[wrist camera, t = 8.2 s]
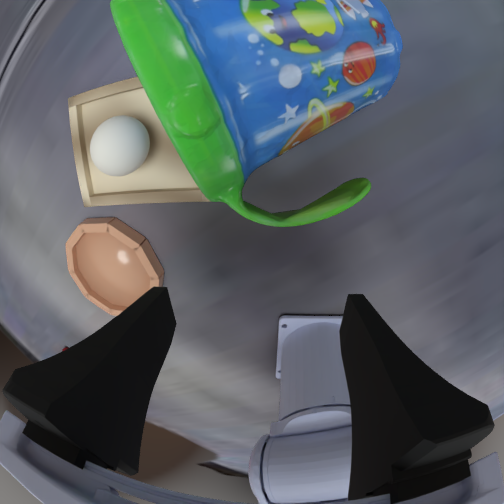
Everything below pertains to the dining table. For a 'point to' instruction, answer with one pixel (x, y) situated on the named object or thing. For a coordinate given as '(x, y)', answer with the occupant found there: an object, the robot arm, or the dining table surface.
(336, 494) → the robot arm
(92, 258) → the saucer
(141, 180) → the tray
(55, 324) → the dining table surface
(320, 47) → the snack cup
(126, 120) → the ball
